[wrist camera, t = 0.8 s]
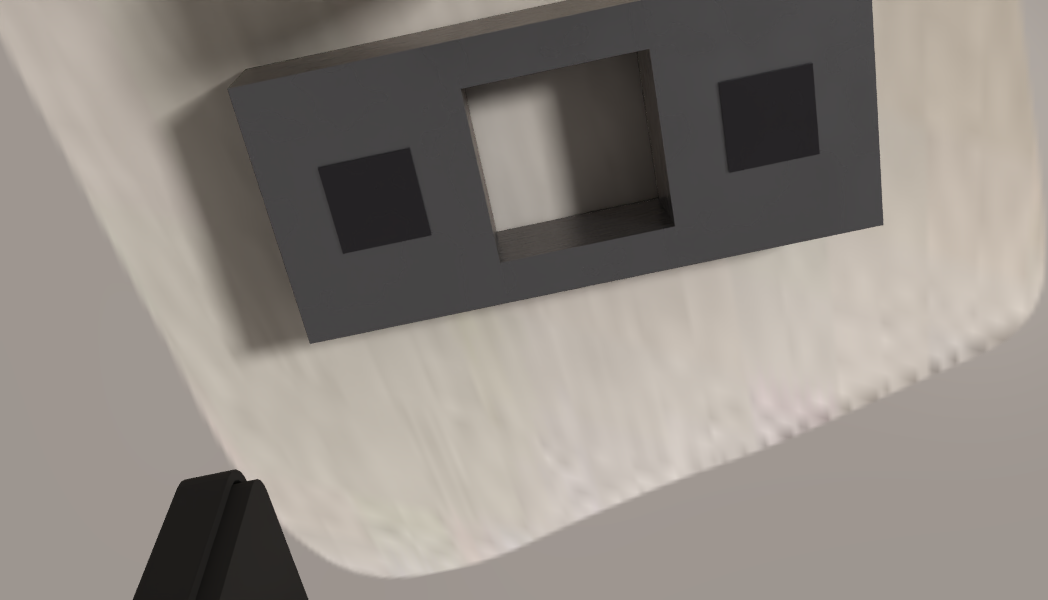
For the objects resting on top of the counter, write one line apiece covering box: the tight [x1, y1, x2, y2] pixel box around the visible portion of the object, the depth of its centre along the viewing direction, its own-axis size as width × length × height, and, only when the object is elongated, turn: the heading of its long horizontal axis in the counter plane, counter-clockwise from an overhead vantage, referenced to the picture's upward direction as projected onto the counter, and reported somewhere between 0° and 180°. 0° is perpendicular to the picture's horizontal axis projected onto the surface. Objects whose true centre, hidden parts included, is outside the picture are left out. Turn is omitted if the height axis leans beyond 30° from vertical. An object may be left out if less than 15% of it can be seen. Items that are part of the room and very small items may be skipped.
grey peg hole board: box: [228, 0, 883, 344], centre depth 34 cm, size 9×20×3 cm, turn 101°
